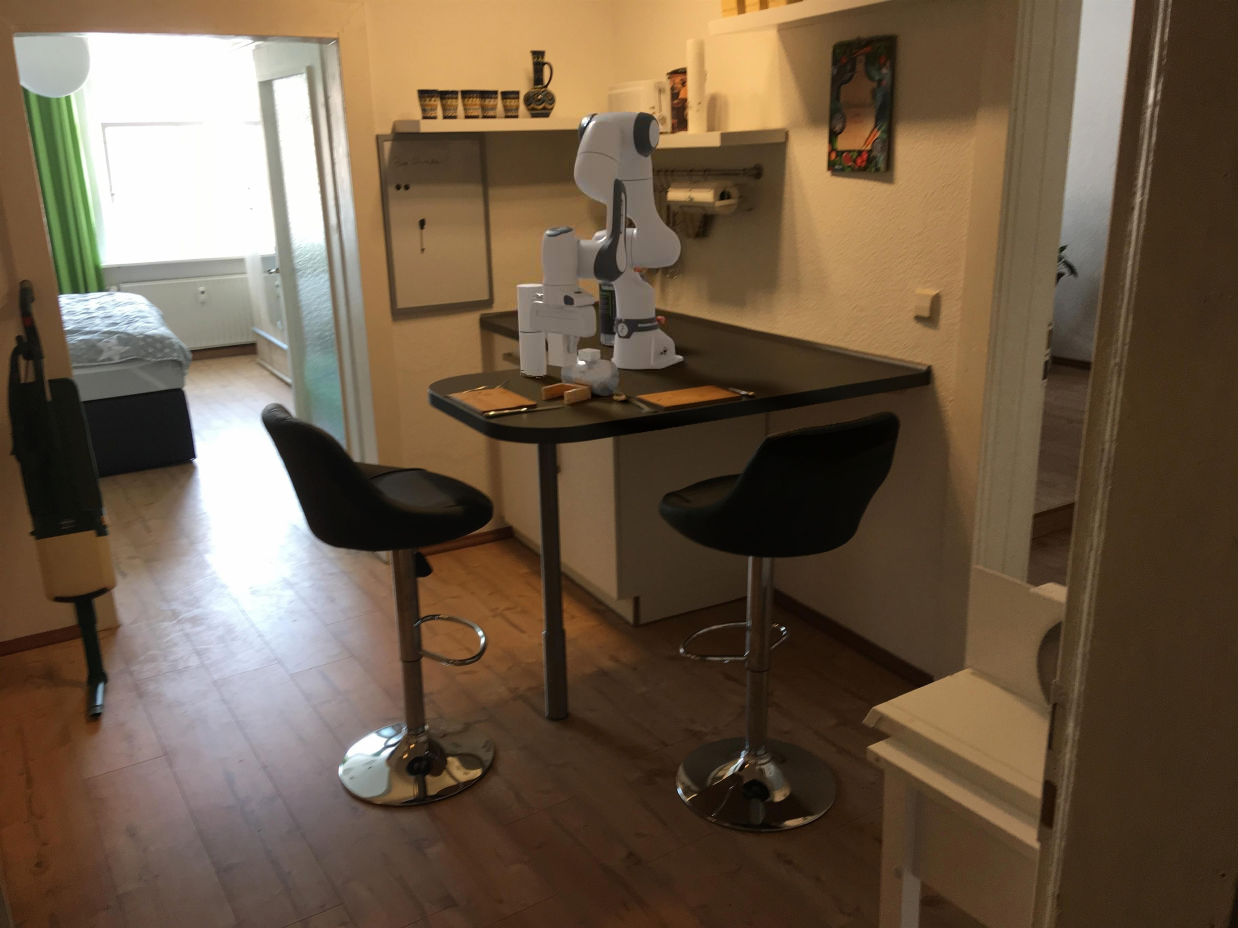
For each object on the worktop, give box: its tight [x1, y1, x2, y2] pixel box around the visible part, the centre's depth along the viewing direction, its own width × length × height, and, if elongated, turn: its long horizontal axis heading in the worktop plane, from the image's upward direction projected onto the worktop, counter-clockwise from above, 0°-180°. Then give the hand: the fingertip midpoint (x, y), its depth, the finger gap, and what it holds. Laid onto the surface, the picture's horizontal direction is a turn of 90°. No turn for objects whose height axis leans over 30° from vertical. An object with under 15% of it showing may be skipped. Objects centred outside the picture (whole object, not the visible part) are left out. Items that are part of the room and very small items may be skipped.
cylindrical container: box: [516, 283, 547, 377], centre depth 278 cm, size 7×7×25 cm
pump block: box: [547, 332, 578, 368], centre depth 248 cm, size 5×5×8 cm
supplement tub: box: [598, 268, 648, 347], centre depth 324 cm, size 16×16×26 cm
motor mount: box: [541, 347, 620, 405], centre depth 254 cm, size 18×12×11 cm
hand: (562, 351), depth 248 cm, fingers closed on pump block, 5 cm apart
